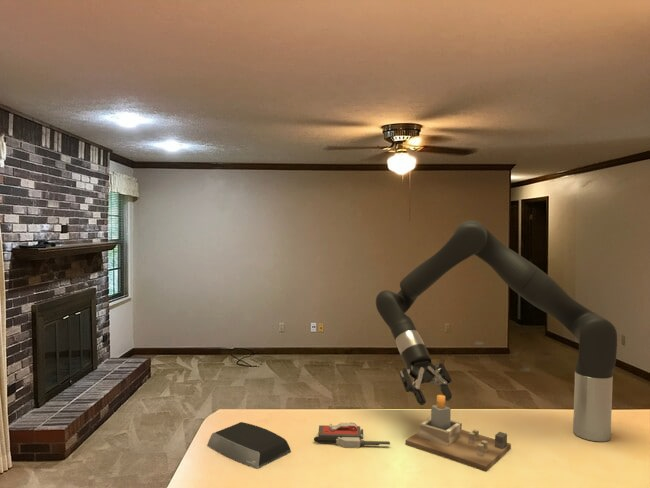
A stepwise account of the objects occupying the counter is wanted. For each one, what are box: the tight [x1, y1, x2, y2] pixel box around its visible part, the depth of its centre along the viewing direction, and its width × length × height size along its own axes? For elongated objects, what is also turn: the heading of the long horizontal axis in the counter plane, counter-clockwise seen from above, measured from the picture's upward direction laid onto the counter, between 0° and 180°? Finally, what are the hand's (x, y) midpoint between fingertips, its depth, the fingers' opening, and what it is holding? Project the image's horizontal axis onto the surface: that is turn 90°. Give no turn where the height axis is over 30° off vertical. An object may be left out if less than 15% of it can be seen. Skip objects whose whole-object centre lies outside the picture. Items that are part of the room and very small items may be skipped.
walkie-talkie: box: [313, 422, 391, 449], centre depth 136 cm, size 9×4×20 cm
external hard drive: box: [207, 421, 292, 470], centre depth 131 cm, size 13×19×4 cm
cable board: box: [404, 417, 512, 472], centre depth 133 cm, size 16×22×5 cm
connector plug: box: [430, 394, 452, 430], centre depth 136 cm, size 4×4×11 cm
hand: (436, 401), depth 138 cm, fingers open, 8 cm apart
